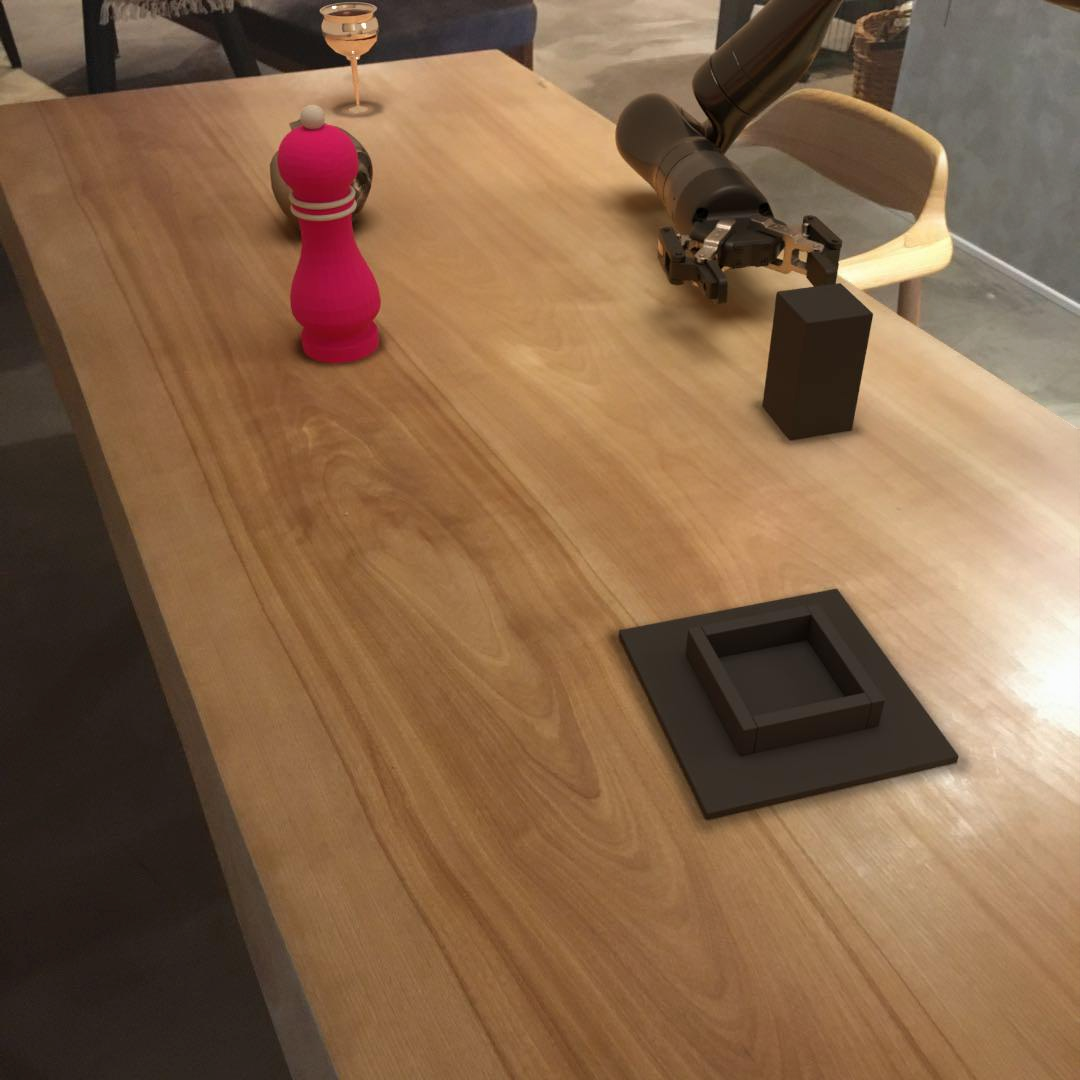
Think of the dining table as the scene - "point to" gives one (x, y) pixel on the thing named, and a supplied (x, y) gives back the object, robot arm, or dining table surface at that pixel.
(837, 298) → the pad block
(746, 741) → the base pad
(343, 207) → the pepper mill
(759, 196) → the robot arm
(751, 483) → the dining table surface
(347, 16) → the wineglass
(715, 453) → the dining table surface
